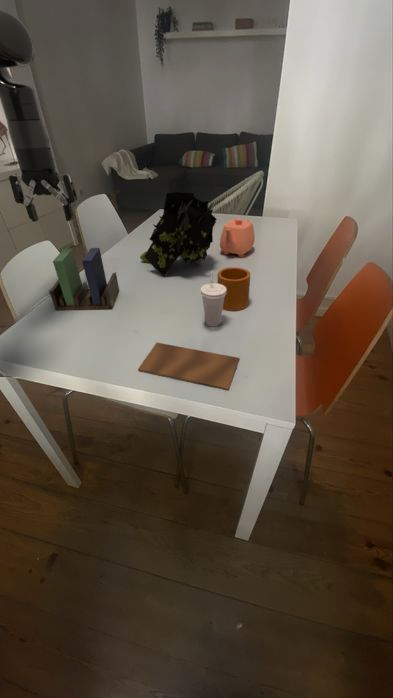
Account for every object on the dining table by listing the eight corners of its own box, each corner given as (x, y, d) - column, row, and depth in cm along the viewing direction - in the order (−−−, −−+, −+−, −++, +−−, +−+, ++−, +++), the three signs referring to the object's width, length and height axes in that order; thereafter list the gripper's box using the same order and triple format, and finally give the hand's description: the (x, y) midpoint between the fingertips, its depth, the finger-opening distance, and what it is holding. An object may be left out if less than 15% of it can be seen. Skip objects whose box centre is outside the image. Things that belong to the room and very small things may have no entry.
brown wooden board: (138, 371, 68) (137, 369, 68) (156, 344, 76) (156, 342, 76) (228, 390, 63) (228, 388, 63) (239, 359, 71) (239, 357, 70)
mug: (259, 297, 93) (262, 268, 88) (237, 314, 86) (239, 284, 80) (233, 288, 98) (235, 260, 92) (210, 304, 90) (211, 275, 85)
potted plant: (129, 276, 109) (147, 202, 84) (151, 237, 121) (171, 163, 97) (186, 302, 112) (219, 238, 88) (201, 261, 125) (234, 195, 100)
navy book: (93, 304, 89) (81, 260, 81) (100, 289, 96) (90, 247, 88) (101, 304, 89) (91, 260, 81) (108, 289, 96) (99, 247, 88)
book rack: (55, 310, 89) (49, 291, 85) (67, 292, 98) (62, 273, 94) (112, 309, 89) (108, 290, 85) (119, 291, 98) (116, 272, 94)
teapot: (231, 241, 130) (233, 210, 122) (259, 246, 125) (262, 214, 118) (210, 259, 116) (210, 225, 109) (240, 264, 112) (243, 230, 104)
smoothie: (205, 314, 86) (205, 265, 78) (228, 318, 84) (230, 268, 76) (197, 326, 82) (196, 276, 73) (221, 331, 80) (223, 279, 71)
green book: (66, 305, 89) (52, 261, 81) (75, 290, 96) (64, 248, 88) (74, 305, 89) (62, 261, 81) (83, 290, 96) (72, 248, 88)
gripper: (-9, 147, 68) (18, 225, 77) (58, 146, 68) (76, 224, 78) (7, 144, 74) (30, 217, 83) (68, 142, 74) (84, 216, 83)
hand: (52, 220), depth 80 cm, fingers open, 8 cm apart
